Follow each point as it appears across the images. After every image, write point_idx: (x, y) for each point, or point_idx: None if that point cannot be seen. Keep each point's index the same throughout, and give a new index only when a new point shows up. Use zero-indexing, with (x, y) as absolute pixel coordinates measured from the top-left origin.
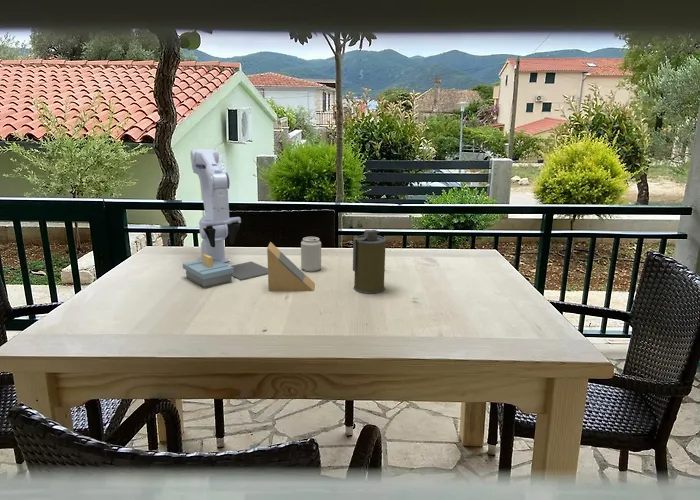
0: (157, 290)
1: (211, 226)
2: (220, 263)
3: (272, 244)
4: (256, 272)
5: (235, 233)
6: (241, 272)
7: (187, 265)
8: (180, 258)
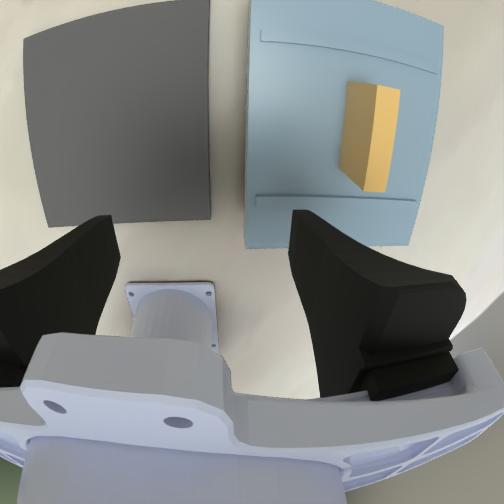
0: (491, 152)
1: (391, 382)
2: (272, 110)
3: None
4: (87, 55)
5: (40, 255)
6: (146, 91)
7: (416, 203)
8: (260, 382)
